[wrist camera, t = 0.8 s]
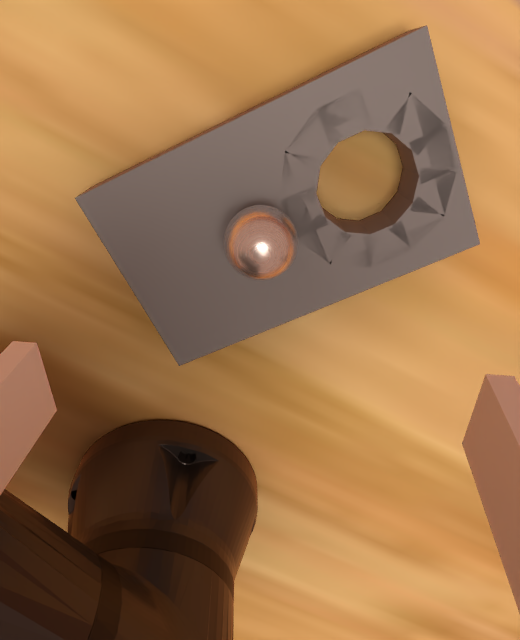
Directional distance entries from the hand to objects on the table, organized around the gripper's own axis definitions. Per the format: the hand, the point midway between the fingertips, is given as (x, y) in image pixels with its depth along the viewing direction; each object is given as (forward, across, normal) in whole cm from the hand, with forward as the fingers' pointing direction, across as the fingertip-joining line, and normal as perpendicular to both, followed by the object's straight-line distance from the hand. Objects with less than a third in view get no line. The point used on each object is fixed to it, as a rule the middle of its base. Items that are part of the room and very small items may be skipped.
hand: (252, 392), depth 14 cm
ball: (+13, +1, +1) cm, 13 cm away
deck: (+18, 0, +1) cm, 18 cm away
